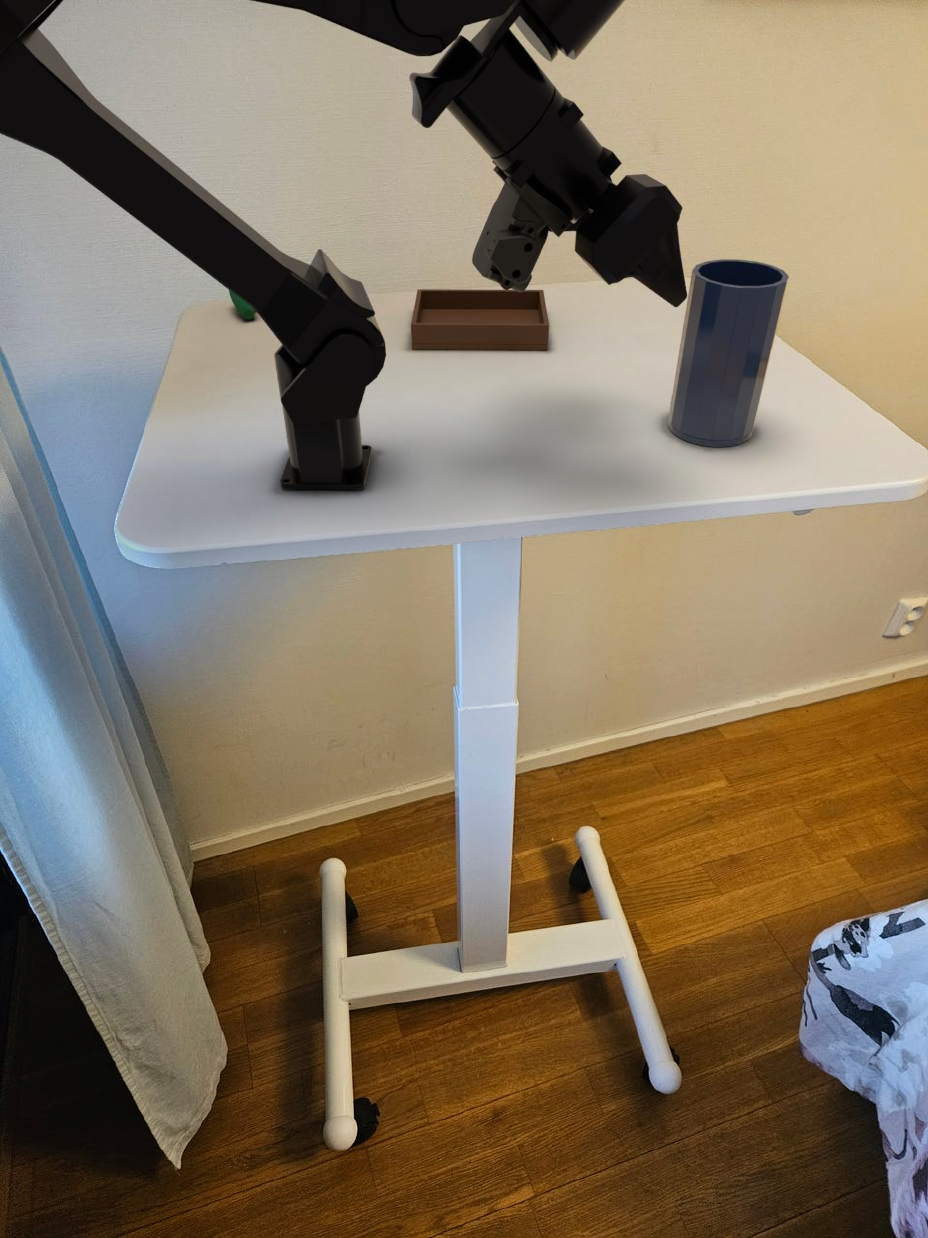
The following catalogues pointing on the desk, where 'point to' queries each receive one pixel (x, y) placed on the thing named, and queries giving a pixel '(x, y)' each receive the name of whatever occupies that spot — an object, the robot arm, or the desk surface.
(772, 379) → the desk surface
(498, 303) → the tray
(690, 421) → the cup
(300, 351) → the robot arm
